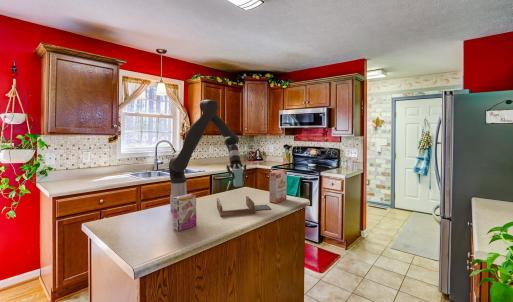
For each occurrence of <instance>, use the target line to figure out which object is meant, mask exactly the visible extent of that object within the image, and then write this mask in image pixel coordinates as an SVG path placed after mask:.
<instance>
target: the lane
mask: <svg viewBox="0 0 513 302" xmlns="http://www.w3.org/2000/svg"><path fill="white" fill-rule="evenodd" d="M245 205H246V207H247V208H239V209H228V210H227V209H225V210H223V205H222V202H221V200H220V198H219V197H217V198H216V209H217V211H218V214H219V216H220V217H221V218H222V217H231V216H233V217H234V216H242V215H243V216H245V215H254V214H256V210H255V208H254V205H255V202H254V201H253V200H252V199H251V197H249V196H248V195H246V196H245Z"/></svg>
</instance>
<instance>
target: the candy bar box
mask: <svg viewBox="0 0 513 302" xmlns="http://www.w3.org/2000/svg"><path fill="white" fill-rule="evenodd" d="M196 226H197V195H196V194H192V193H189V194H188V193H187V195H182V196H178V197H173V210H172V228H173V230H174V231H176V232H181V231H185V230H187V229H190V228H194V227H196Z"/></svg>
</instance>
